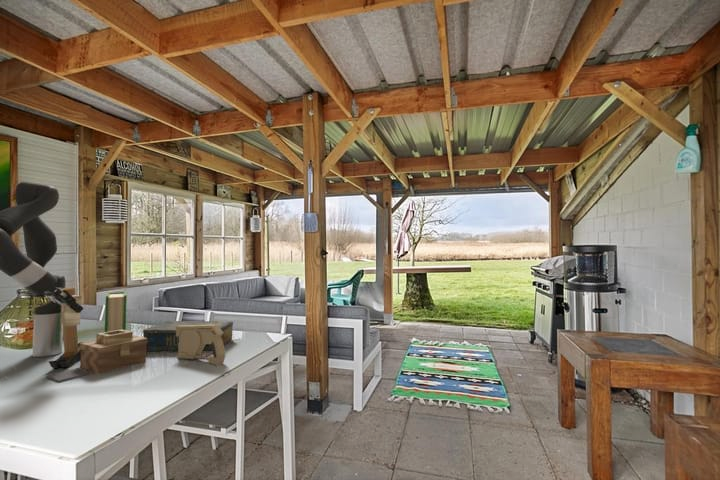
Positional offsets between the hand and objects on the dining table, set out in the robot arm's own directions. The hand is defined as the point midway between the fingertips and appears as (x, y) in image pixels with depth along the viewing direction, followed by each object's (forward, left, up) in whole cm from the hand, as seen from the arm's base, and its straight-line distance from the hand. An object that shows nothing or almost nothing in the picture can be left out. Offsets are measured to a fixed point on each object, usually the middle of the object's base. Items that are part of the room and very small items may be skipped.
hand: (77, 310), depth 121 cm
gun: (+24, +31, -23) cm, 45 cm away
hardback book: (-28, +25, -23) cm, 44 cm away
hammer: (-18, +5, -23) cm, 29 cm away
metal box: (+1, +43, -23) cm, 49 cm away
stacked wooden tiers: (0, +12, -22) cm, 25 cm away
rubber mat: (0, -2, -22) cm, 22 cm away
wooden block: (0, -2, -5) cm, 5 cm away
